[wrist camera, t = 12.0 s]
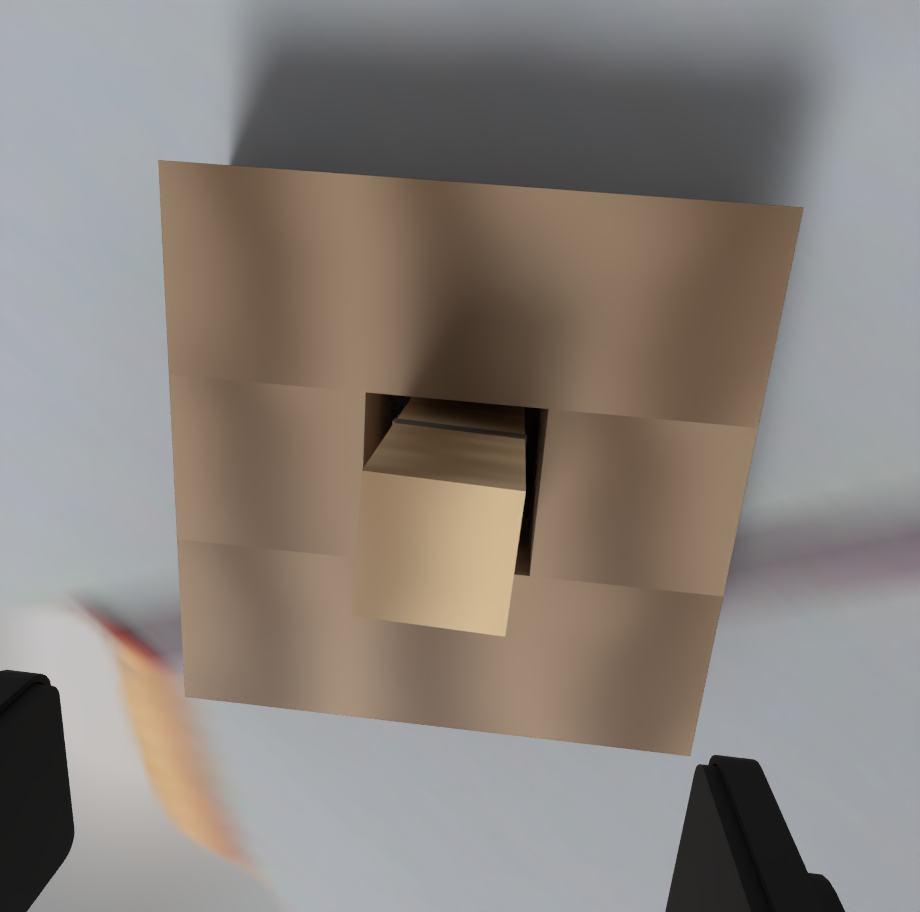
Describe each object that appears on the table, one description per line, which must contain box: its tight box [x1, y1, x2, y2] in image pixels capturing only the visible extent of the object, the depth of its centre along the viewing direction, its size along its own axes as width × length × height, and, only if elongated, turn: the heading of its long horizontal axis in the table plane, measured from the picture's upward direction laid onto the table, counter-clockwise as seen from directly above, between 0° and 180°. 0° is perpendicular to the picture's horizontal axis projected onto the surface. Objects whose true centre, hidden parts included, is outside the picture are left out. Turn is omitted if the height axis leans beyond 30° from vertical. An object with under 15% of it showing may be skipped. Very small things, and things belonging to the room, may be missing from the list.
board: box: [158, 160, 804, 756], centre depth 25 cm, size 18×18×5 cm
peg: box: [352, 397, 527, 637], centre depth 23 cm, size 4×4×10 cm
